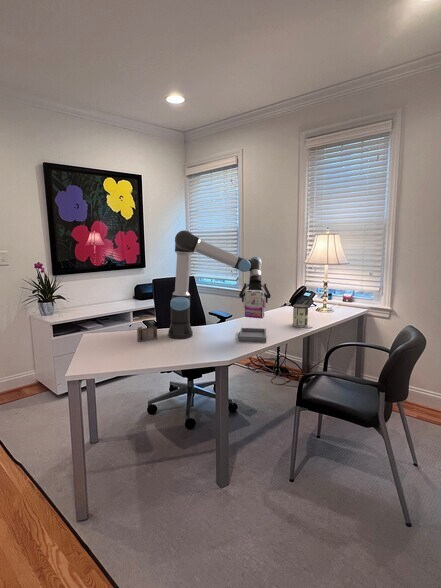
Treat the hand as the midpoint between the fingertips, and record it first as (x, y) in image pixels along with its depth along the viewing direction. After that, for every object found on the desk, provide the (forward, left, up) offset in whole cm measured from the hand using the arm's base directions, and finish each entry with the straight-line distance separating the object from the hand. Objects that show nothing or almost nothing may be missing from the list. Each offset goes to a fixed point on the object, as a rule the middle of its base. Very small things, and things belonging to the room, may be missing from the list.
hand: (254, 306), depth 211 cm
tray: (-1, +3, -20) cm, 20 cm away
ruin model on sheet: (-63, -13, -20) cm, 67 cm away
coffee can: (+31, +37, -20) cm, 52 cm away
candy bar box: (0, +2, -7) cm, 7 cm away
